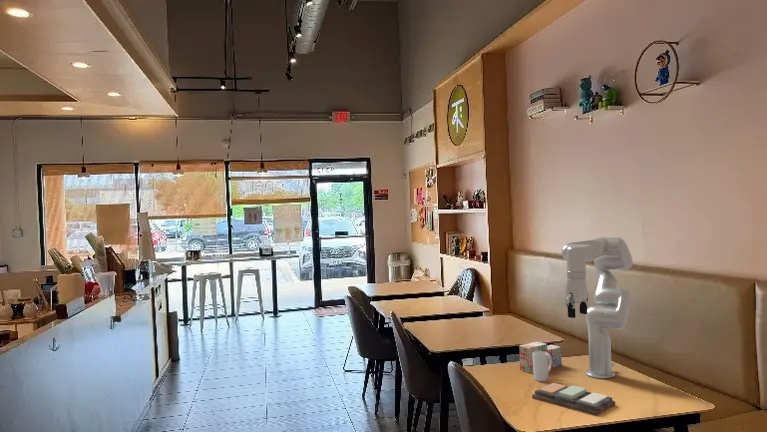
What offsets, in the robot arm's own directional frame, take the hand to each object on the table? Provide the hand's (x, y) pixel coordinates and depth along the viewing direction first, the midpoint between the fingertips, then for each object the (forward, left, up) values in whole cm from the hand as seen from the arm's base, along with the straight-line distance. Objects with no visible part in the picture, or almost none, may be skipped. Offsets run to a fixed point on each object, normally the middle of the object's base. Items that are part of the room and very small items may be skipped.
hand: (577, 315), depth 234 cm
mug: (-4, -20, -32) cm, 38 cm away
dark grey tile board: (+13, +4, -32) cm, 35 cm away
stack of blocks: (-17, -30, -33) cm, 48 cm away
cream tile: (+13, +13, -30) cm, 35 cm away
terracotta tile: (+13, -5, -30) cm, 33 cm away
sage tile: (+13, +4, -29) cm, 32 cm away
